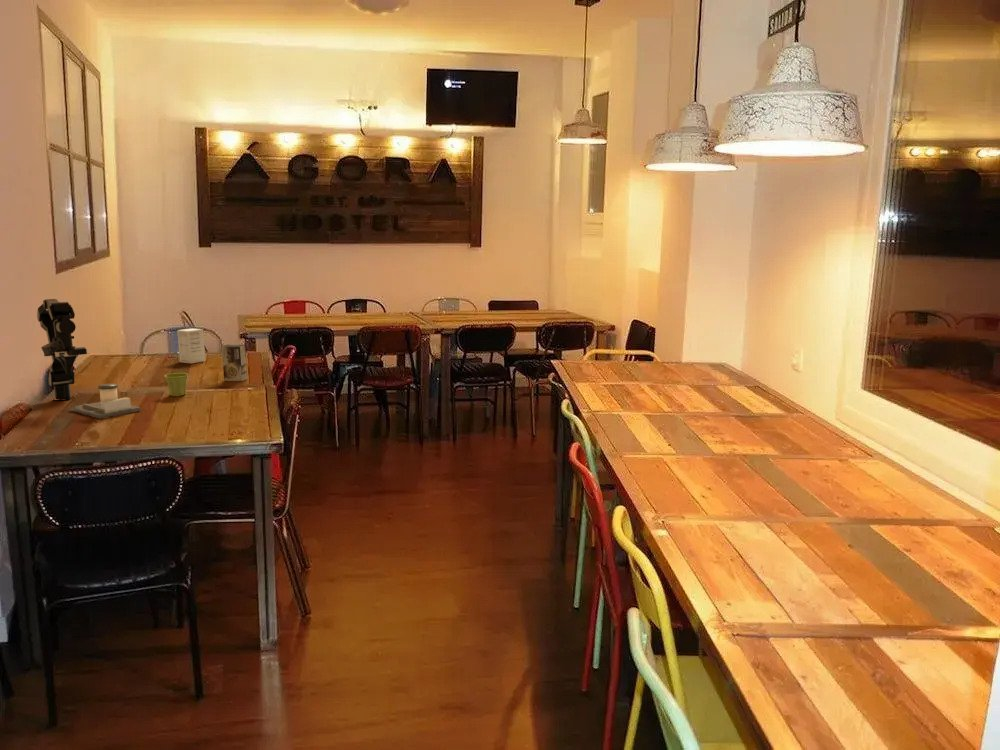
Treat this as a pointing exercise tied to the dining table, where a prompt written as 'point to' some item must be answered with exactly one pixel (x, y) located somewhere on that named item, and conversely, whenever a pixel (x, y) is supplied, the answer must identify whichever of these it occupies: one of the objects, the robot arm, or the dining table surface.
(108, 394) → the knob
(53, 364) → the robot arm
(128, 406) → the knob mount
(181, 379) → the plant pot
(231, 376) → the coffee box
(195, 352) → the supplement box
